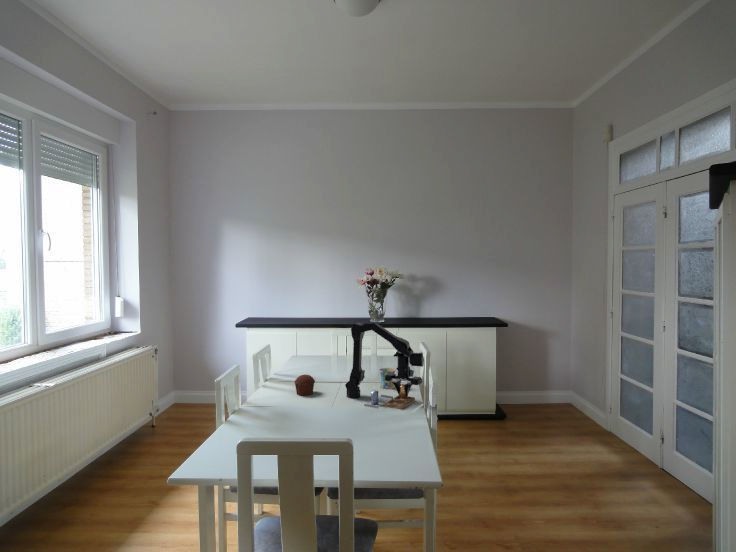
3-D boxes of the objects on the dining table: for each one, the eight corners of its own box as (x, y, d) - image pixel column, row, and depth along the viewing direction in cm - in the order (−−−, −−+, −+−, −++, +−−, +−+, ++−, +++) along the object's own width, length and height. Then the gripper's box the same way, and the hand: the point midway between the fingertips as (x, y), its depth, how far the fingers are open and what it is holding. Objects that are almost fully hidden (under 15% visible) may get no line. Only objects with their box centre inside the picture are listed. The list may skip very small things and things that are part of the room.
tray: (384, 408, 224) (384, 403, 224) (399, 399, 238) (399, 394, 238) (401, 411, 219) (401, 406, 219) (415, 401, 233) (414, 397, 233)
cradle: (364, 407, 225) (363, 403, 225) (381, 397, 241) (381, 394, 241) (376, 409, 222) (376, 406, 222) (393, 399, 237) (393, 396, 237)
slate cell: (369, 404, 227) (369, 390, 227) (373, 402, 230) (373, 389, 230) (376, 405, 225) (376, 391, 225) (379, 403, 228) (379, 390, 228)
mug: (378, 386, 262) (378, 368, 262) (394, 385, 263) (394, 367, 263) (380, 392, 250) (380, 373, 250) (397, 391, 251) (397, 372, 251)
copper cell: (398, 398, 231) (398, 384, 231) (401, 396, 234) (401, 382, 234) (405, 399, 229) (405, 385, 229) (408, 397, 232) (408, 383, 232)
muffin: (311, 397, 243) (310, 378, 242) (291, 396, 245) (291, 377, 245) (317, 390, 254) (317, 373, 254) (299, 389, 257) (298, 372, 256)
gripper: (426, 364, 233) (426, 394, 234) (393, 360, 243) (394, 389, 243) (417, 368, 224) (417, 400, 224) (384, 364, 233) (384, 394, 234)
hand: (403, 395), depth 232 cm, fingers closed on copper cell, 4 cm apart
